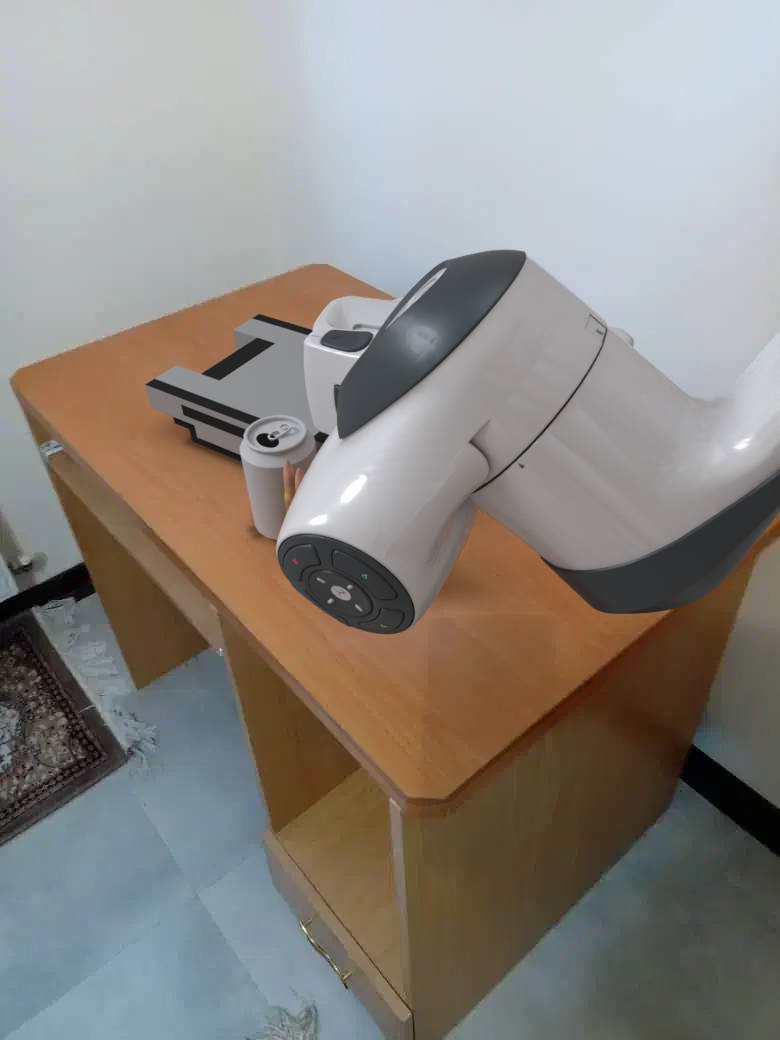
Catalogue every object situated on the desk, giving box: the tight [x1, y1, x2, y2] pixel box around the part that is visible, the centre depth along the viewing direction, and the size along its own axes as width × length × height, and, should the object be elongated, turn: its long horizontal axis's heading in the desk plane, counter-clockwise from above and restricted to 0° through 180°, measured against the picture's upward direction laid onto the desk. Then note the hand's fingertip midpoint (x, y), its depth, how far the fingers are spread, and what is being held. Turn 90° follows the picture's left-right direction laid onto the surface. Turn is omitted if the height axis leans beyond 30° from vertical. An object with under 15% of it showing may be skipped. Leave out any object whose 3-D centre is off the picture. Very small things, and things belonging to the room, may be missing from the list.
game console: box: [144, 313, 329, 462], centre depth 95 cm, size 21×32×8 cm, turn 56°
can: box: [240, 415, 317, 541], centre depth 81 cm, size 8×8×12 cm
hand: (495, 302), depth 56 cm, fingers open, 8 cm apart
